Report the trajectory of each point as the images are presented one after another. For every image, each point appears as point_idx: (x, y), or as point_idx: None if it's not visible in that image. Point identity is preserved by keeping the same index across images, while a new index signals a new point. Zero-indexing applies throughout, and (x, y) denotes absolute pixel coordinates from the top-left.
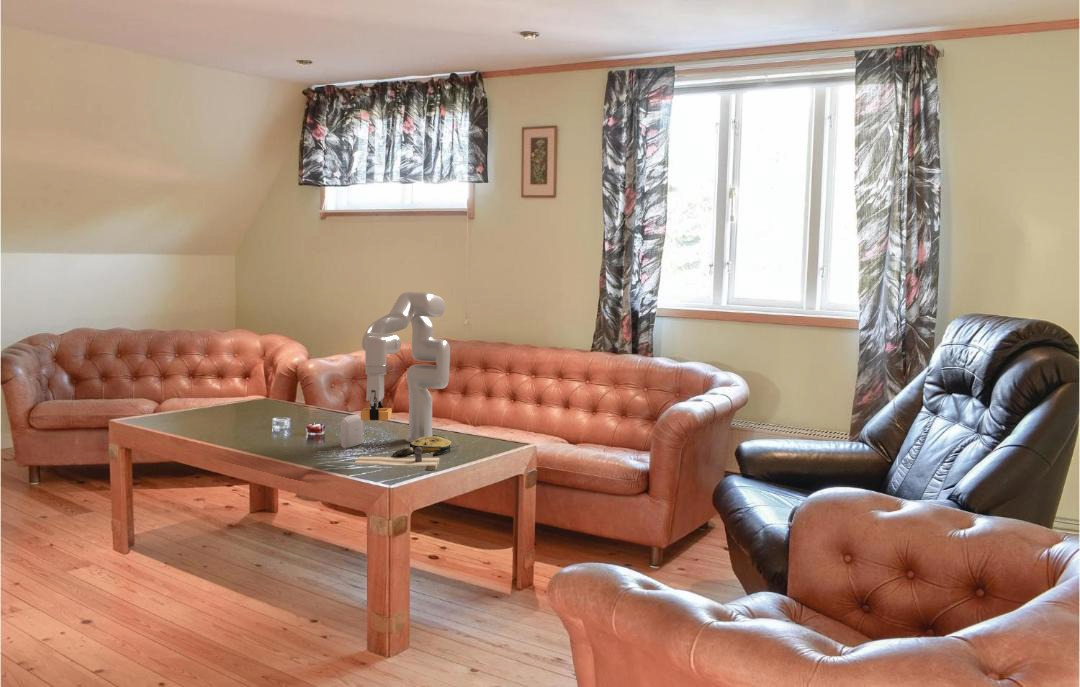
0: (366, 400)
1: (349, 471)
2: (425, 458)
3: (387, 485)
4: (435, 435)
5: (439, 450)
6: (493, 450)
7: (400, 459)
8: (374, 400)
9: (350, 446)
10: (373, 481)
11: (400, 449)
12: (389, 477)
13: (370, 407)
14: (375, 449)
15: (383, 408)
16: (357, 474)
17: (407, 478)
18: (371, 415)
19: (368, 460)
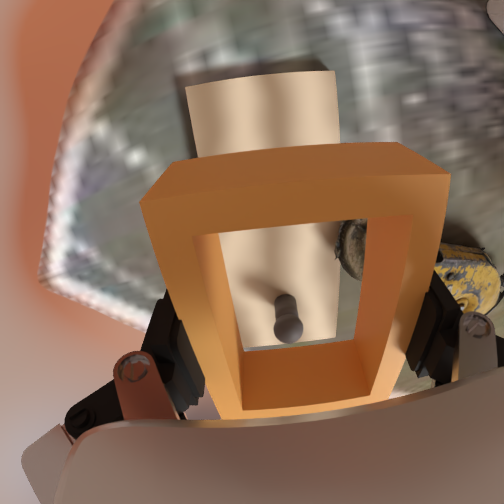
0: (84, 434)
1: (144, 94)
2: (324, 310)
3: (59, 269)
4: (502, 296)
5: None
6: (423, 378)
7: (303, 245)
8: (458, 373)
9: (496, 25)
10: (68, 224)
11: (363, 245)
12: (120, 253)
13: (117, 380)
14: (484, 109)
15: (383, 368)
16: (114, 142)
17: (132, 298)
18: (153, 312)
19: (268, 128)
